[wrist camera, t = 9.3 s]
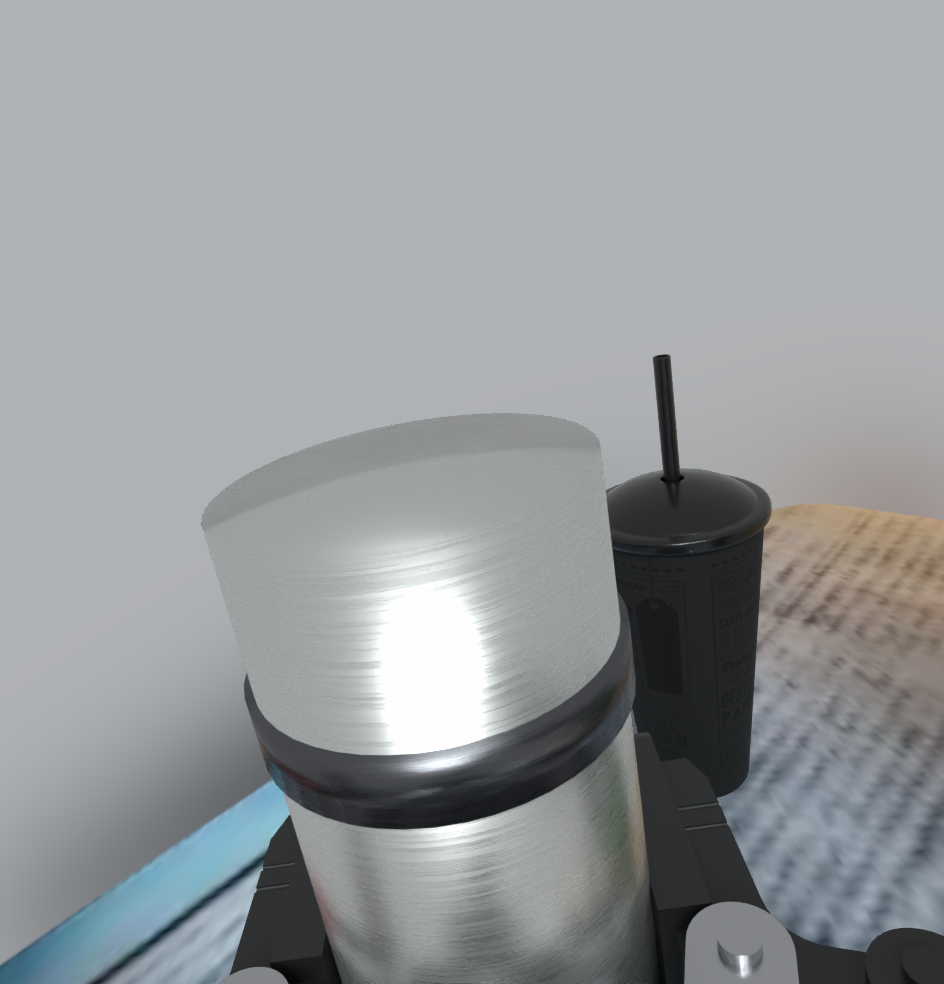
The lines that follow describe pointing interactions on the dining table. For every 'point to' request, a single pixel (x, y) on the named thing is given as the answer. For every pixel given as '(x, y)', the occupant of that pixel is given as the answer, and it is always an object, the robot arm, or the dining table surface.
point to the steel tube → (447, 698)
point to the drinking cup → (691, 602)
